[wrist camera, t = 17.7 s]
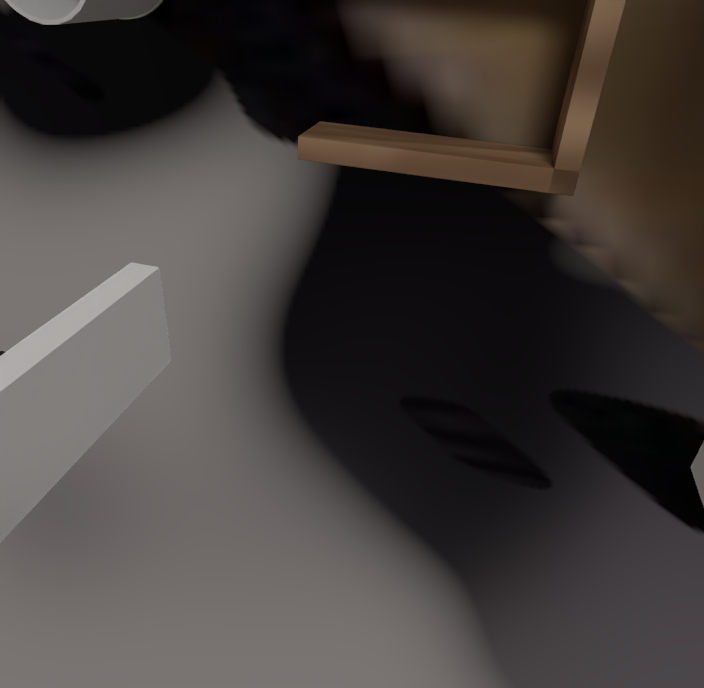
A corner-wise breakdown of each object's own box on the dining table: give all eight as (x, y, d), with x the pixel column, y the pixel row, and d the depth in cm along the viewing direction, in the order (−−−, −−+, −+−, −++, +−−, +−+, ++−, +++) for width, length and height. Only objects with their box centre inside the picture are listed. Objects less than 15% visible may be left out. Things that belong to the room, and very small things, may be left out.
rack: (327, -111, 36) (300, -122, 32) (638, -96, 32) (654, -107, 28) (319, 142, 44) (298, 159, 40) (568, 174, 41) (573, 196, 36)
